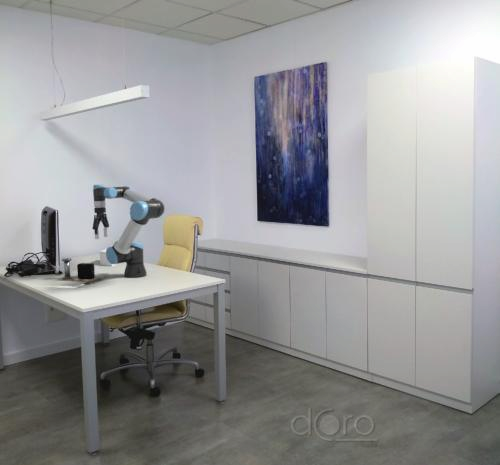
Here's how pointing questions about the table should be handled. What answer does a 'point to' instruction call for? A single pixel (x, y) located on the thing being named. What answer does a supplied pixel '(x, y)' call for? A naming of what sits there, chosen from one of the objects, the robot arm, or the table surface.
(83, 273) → the electronic device
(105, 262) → the white rectangular block
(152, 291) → the table surface
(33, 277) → the table surface
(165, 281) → the table surface
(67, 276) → the bobbin
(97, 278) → the walnut board
